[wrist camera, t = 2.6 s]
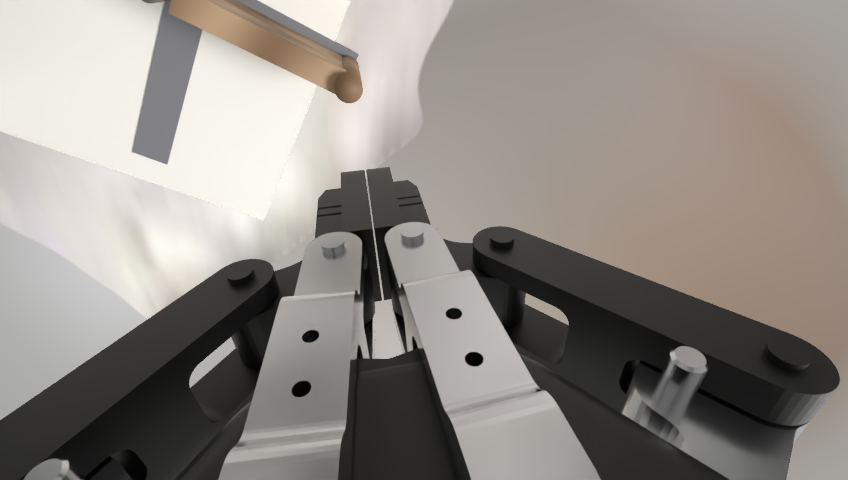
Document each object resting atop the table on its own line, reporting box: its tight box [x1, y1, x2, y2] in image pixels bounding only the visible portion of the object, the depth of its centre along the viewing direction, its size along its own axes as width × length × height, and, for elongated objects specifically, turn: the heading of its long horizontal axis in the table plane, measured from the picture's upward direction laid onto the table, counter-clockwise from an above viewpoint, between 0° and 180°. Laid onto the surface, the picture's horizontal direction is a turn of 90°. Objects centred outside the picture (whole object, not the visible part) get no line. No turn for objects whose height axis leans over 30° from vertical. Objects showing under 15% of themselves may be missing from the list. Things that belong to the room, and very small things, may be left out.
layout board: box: [0, 0, 358, 221], centre depth 31 cm, size 24×24×1 cm
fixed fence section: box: [142, 0, 363, 103], centre depth 28 cm, size 13×2×8 cm, turn 62°
